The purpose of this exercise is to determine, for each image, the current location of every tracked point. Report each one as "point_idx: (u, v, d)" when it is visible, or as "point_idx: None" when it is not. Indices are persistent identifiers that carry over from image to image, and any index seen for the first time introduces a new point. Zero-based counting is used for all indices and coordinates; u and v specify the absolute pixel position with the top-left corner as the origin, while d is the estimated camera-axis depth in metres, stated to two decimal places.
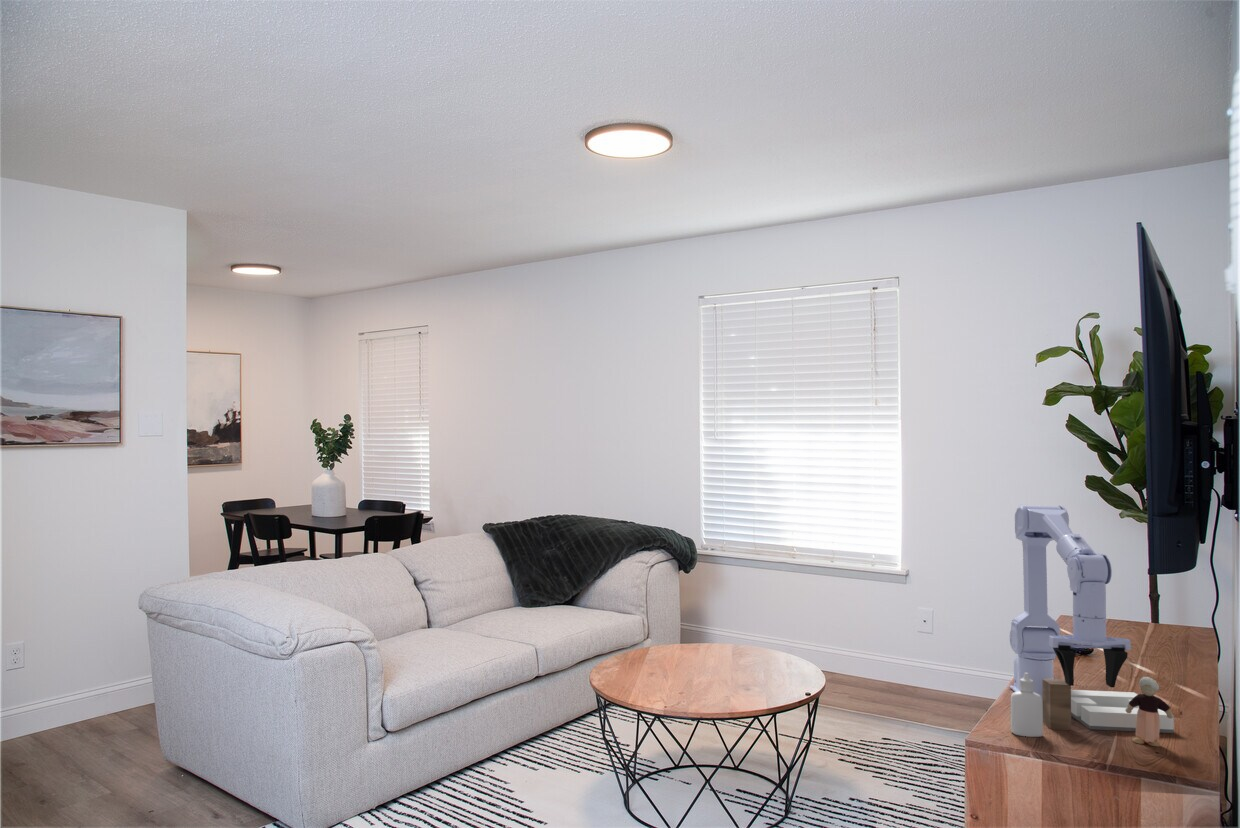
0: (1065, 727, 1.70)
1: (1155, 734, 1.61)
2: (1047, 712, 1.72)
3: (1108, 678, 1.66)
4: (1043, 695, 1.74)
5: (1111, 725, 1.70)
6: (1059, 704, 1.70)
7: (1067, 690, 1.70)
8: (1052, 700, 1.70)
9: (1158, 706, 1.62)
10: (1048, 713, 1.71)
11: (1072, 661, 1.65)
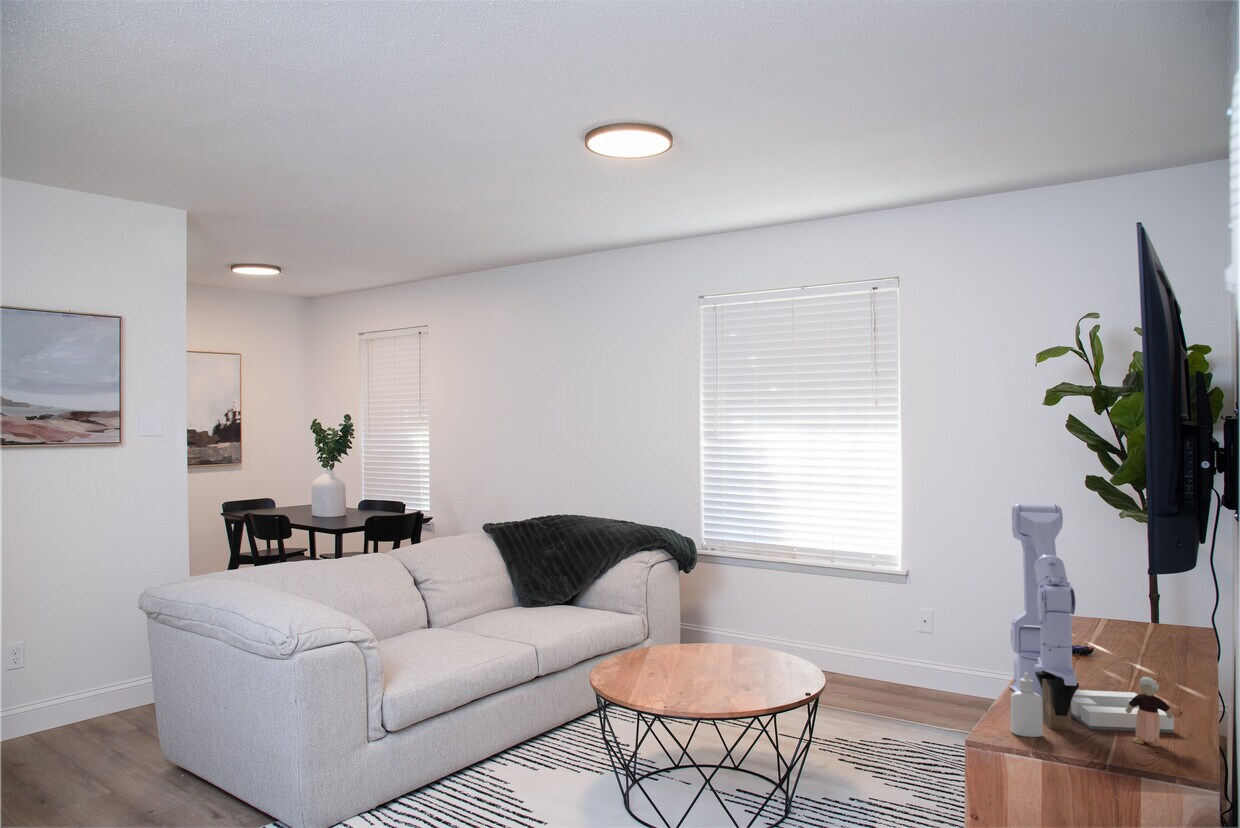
0: (1065, 727, 1.70)
1: (1155, 734, 1.61)
2: (1047, 711, 1.72)
3: None
4: (1043, 695, 1.74)
5: (1111, 725, 1.70)
6: None
7: None
8: (1052, 700, 1.70)
9: (1158, 706, 1.62)
10: (1048, 713, 1.71)
11: (1041, 683, 1.75)
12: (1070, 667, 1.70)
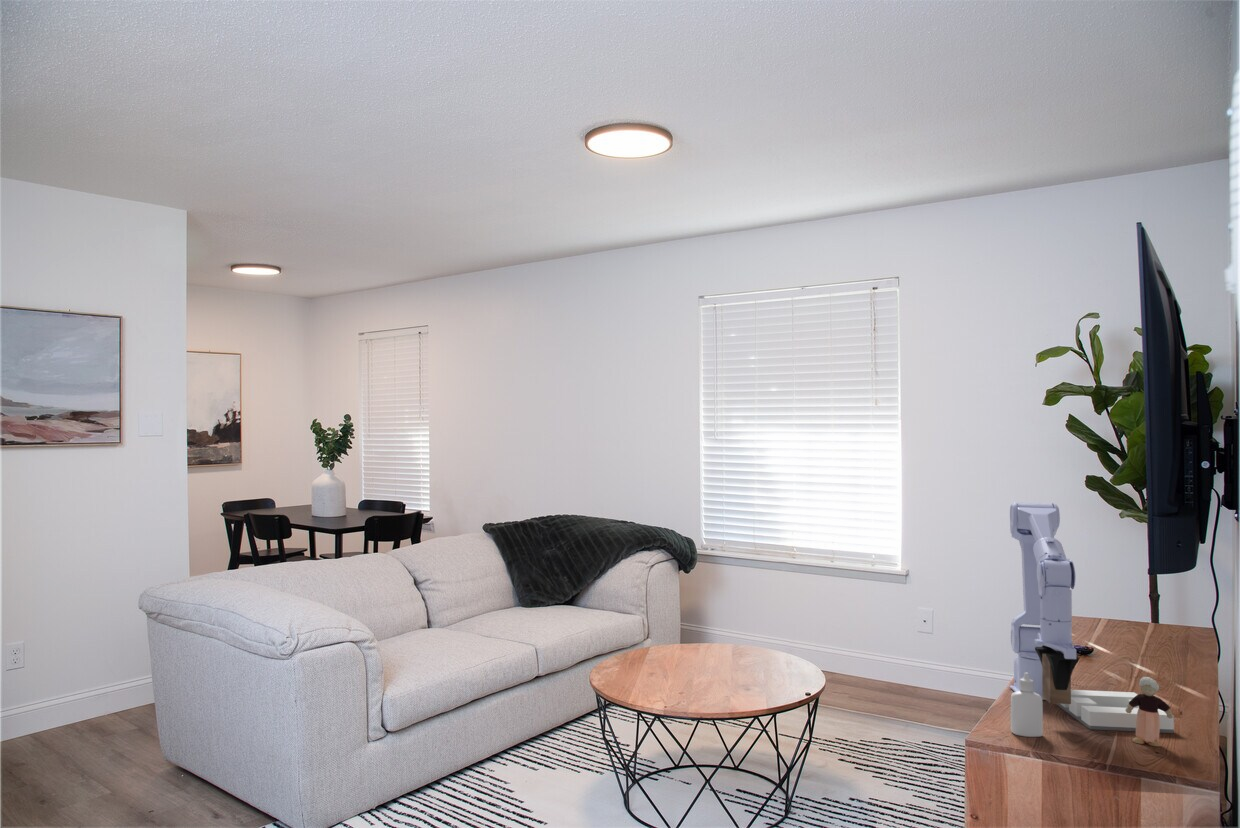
0: (1065, 701, 1.70)
1: (1155, 734, 1.61)
2: (1047, 686, 1.72)
3: None
4: (1043, 670, 1.74)
5: (1111, 725, 1.70)
6: None
7: None
8: (1052, 674, 1.71)
9: (1158, 706, 1.62)
10: (1047, 688, 1.72)
11: (1041, 658, 1.75)
12: (1070, 641, 1.70)
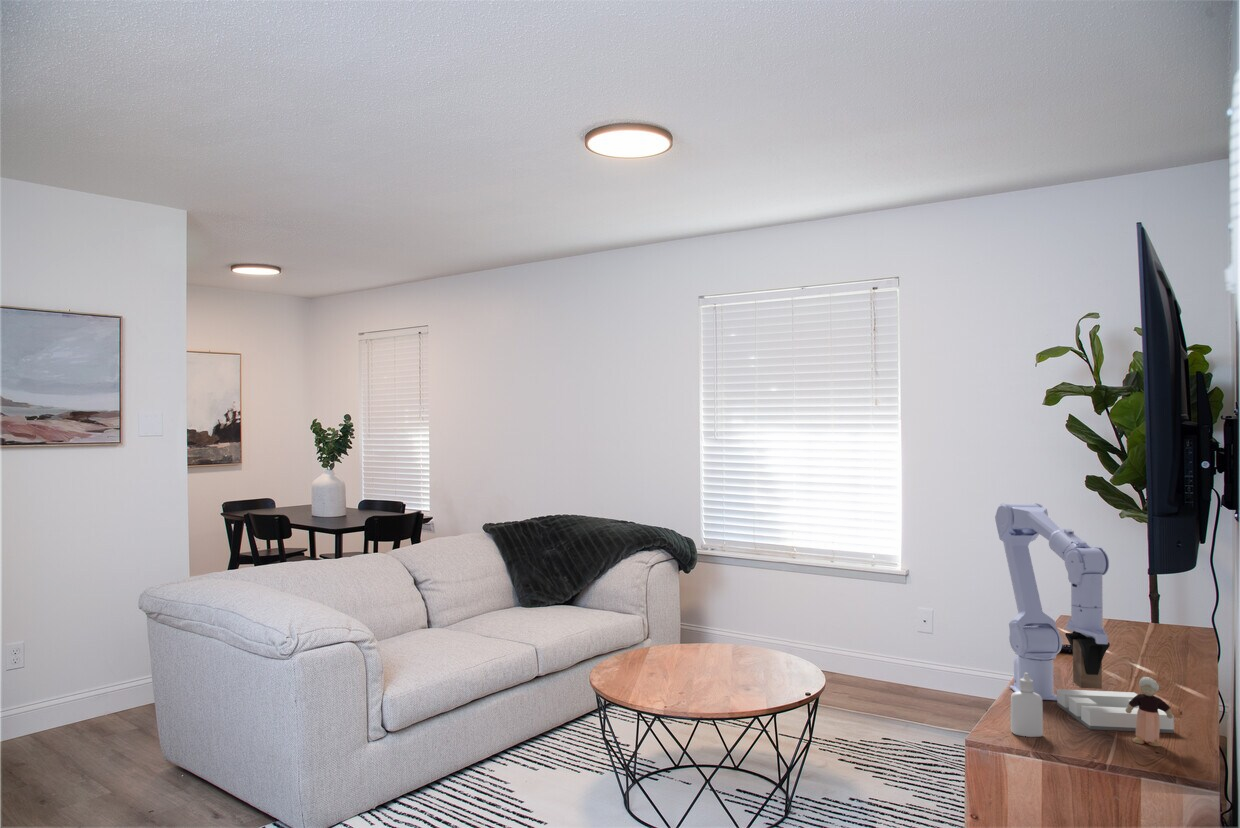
0: (1096, 686, 1.73)
1: (1155, 734, 1.61)
2: (1078, 671, 1.75)
3: None
4: (1074, 655, 1.77)
5: (1111, 725, 1.70)
6: None
7: None
8: (1083, 660, 1.74)
9: (1158, 706, 1.62)
10: (1078, 673, 1.75)
11: (1071, 644, 1.78)
12: (1101, 627, 1.73)
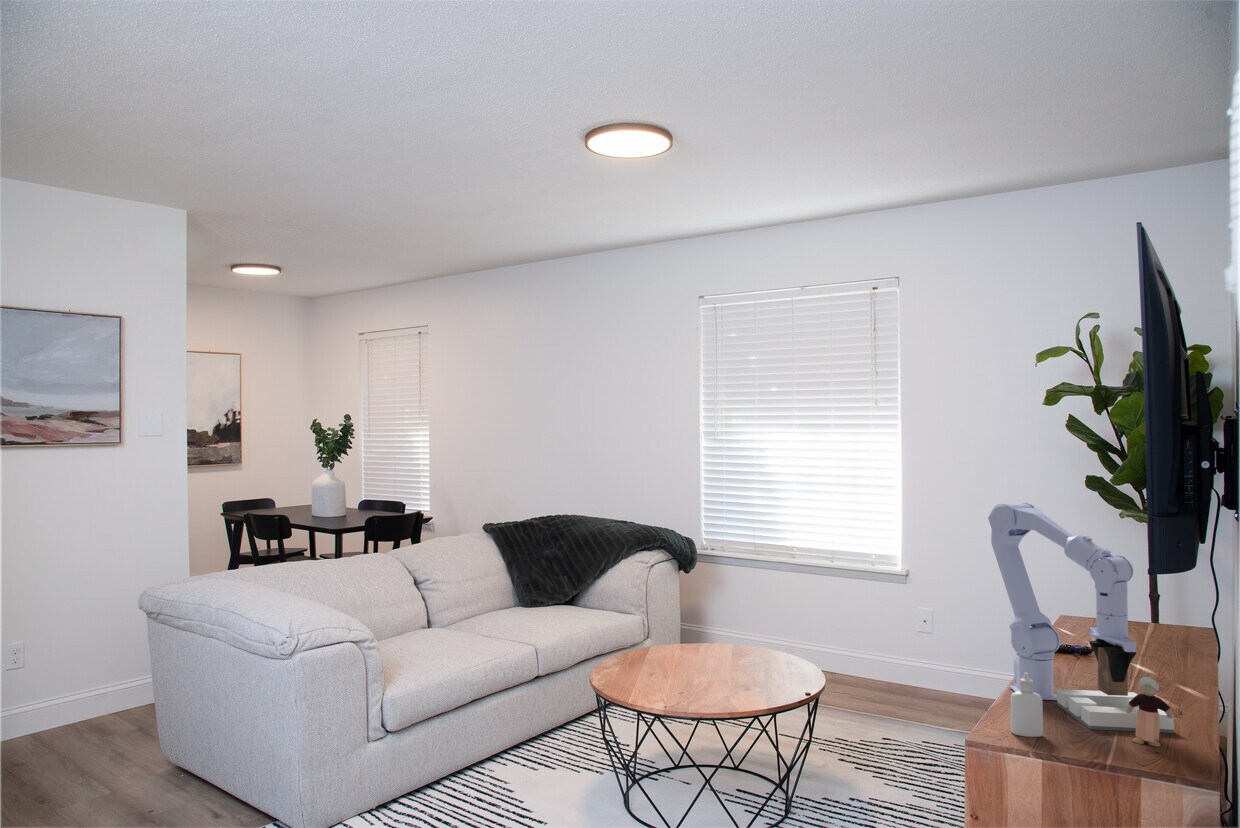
0: (1122, 693, 1.76)
1: (1155, 734, 1.61)
2: (1104, 678, 1.77)
3: None
4: (1099, 663, 1.79)
5: (1111, 725, 1.70)
6: None
7: None
8: (1109, 667, 1.76)
9: (1158, 706, 1.62)
10: (1105, 680, 1.77)
11: (1096, 651, 1.80)
12: (1126, 635, 1.76)
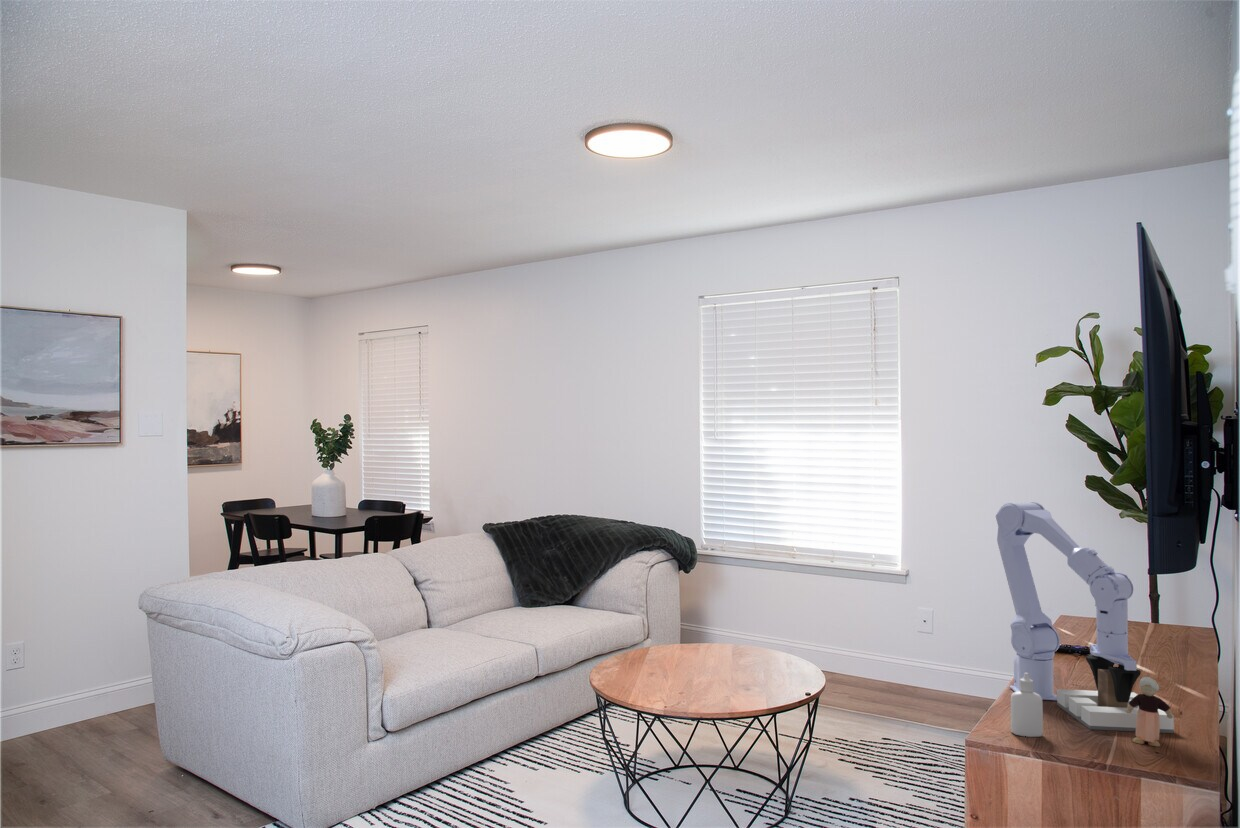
0: None
1: (1155, 734, 1.61)
2: (1104, 701, 1.77)
3: None
4: (1099, 685, 1.79)
5: (1111, 725, 1.70)
6: None
7: None
8: (1109, 690, 1.76)
9: (1158, 706, 1.62)
10: (1104, 703, 1.77)
11: (1092, 667, 1.82)
12: (1126, 653, 1.76)
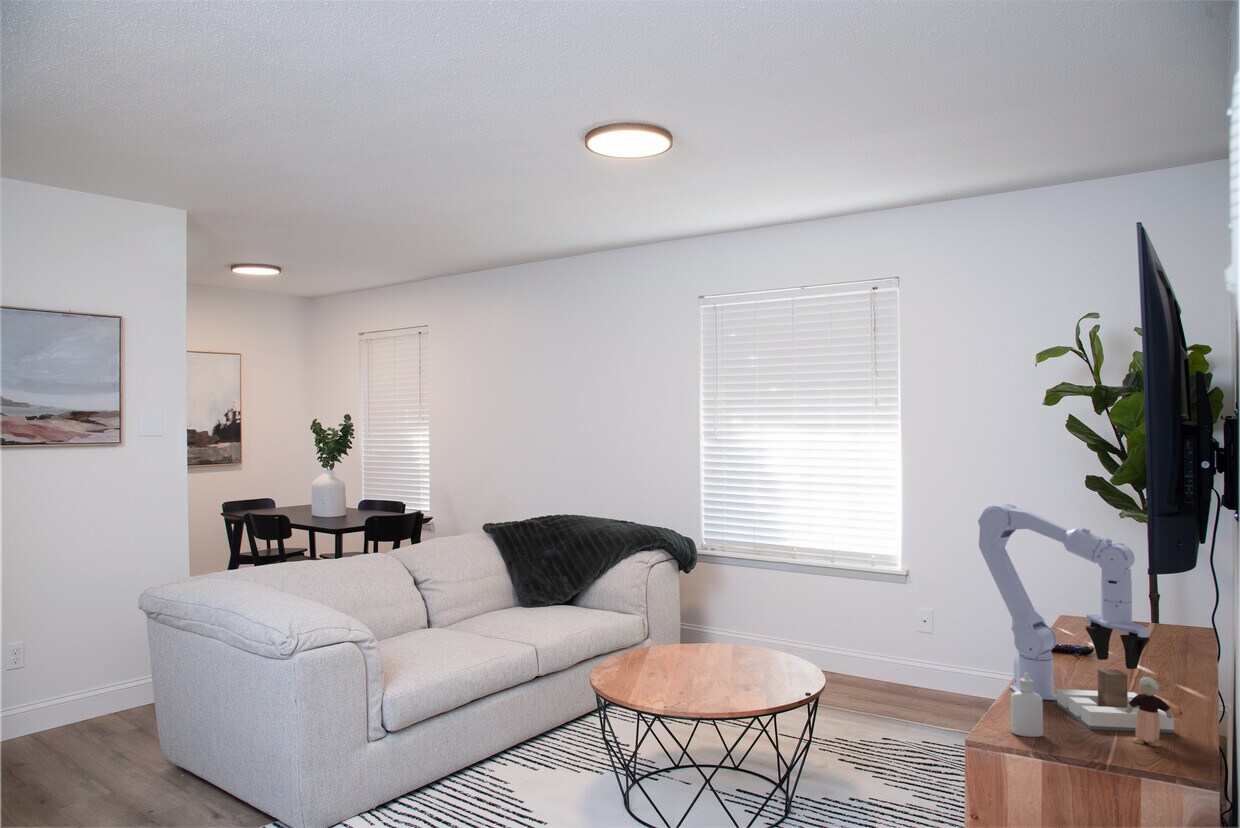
0: None
1: (1155, 734, 1.61)
2: (1104, 701, 1.77)
3: None
4: (1099, 685, 1.79)
5: (1111, 725, 1.70)
6: (1116, 693, 1.76)
7: (1124, 680, 1.76)
8: (1109, 690, 1.76)
9: (1158, 706, 1.62)
10: (1104, 703, 1.77)
11: (1094, 636, 1.85)
12: (1131, 620, 1.81)
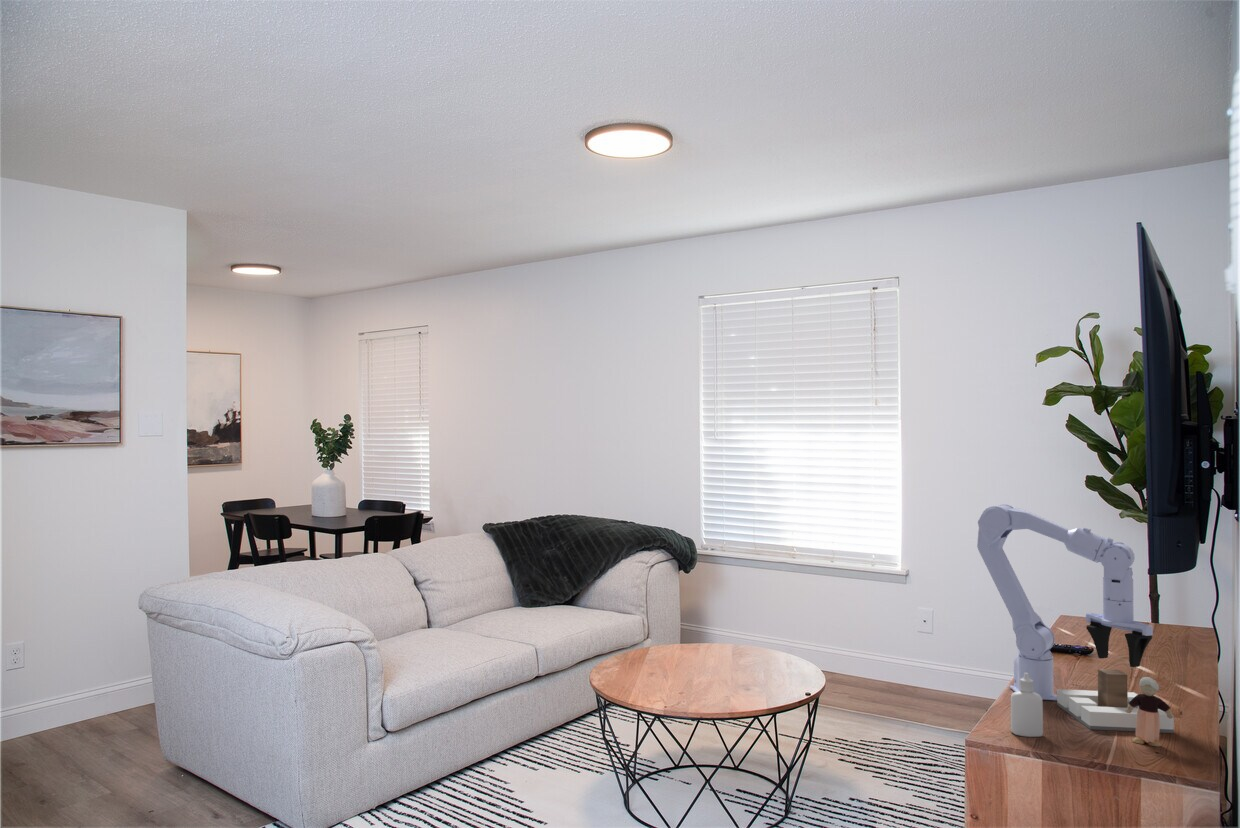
0: None
1: (1155, 734, 1.61)
2: (1104, 701, 1.77)
3: None
4: (1099, 685, 1.79)
5: (1111, 725, 1.70)
6: (1116, 693, 1.76)
7: (1124, 680, 1.76)
8: (1109, 690, 1.76)
9: (1158, 706, 1.62)
10: (1104, 703, 1.77)
11: (1095, 635, 1.87)
12: None
